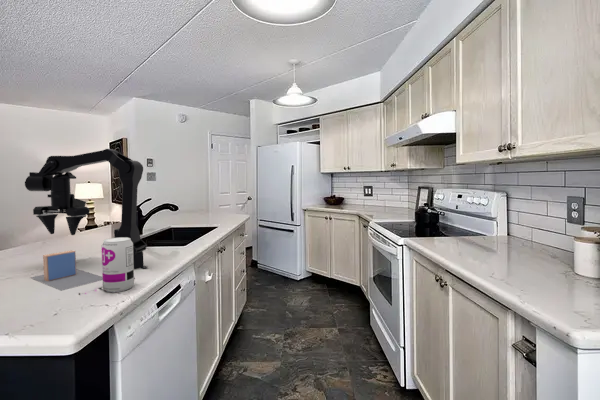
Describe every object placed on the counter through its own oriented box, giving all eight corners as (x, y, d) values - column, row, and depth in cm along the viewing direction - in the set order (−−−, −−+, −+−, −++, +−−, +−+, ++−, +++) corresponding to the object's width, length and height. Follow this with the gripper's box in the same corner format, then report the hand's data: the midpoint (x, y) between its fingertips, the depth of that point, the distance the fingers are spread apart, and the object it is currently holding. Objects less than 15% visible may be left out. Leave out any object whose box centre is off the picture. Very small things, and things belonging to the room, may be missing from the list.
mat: (108, 281, 102) (107, 278, 102) (61, 293, 91) (61, 290, 91) (74, 270, 113) (74, 268, 113) (29, 280, 102) (29, 277, 102)
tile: (76, 274, 105) (75, 251, 105) (48, 281, 98) (46, 256, 98) (72, 273, 107) (71, 250, 106) (44, 279, 100) (43, 255, 99)
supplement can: (112, 295, 90) (110, 243, 89) (97, 289, 95) (95, 240, 94) (139, 286, 97) (138, 238, 96) (124, 282, 102) (123, 236, 101)
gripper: (101, 191, 119) (102, 231, 120) (60, 190, 123) (62, 229, 124) (74, 192, 108) (76, 237, 109) (30, 191, 112) (33, 234, 113)
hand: (62, 234), depth 114 cm, fingers open, 9 cm apart
